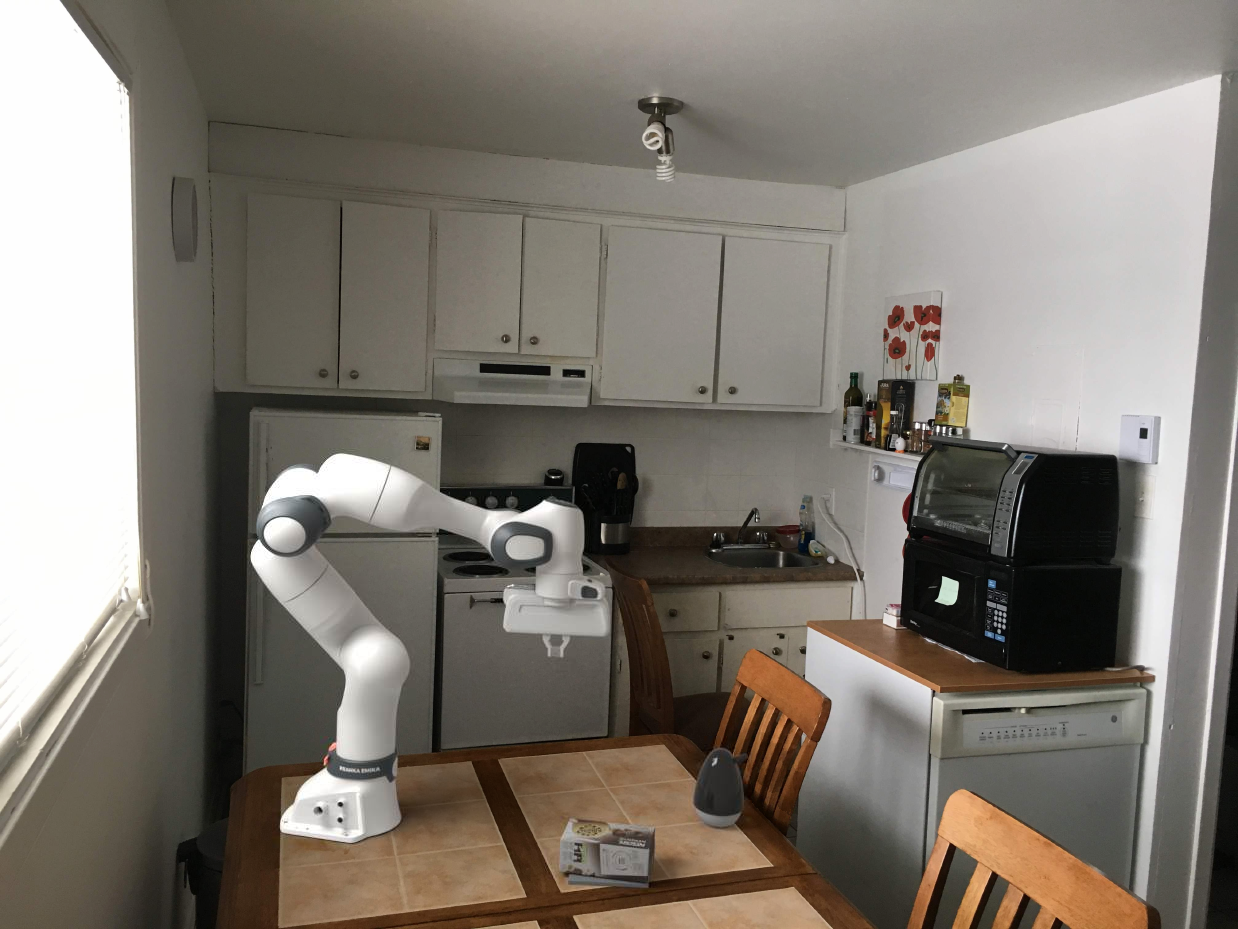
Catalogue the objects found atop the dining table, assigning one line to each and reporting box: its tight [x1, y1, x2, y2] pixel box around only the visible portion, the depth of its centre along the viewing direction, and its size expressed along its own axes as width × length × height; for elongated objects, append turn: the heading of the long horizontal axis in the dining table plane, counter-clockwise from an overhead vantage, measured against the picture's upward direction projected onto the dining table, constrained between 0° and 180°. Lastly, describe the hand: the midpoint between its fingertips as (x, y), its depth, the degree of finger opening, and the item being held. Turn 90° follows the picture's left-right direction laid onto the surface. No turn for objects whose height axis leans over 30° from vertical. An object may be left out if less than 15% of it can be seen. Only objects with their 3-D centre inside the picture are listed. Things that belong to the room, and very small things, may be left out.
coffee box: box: [558, 818, 656, 884], centre depth 172 cm, size 9×6×16 cm
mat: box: [567, 873, 650, 889], centre depth 174 cm, size 14×14×1 cm
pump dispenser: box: [692, 747, 749, 828], centre depth 193 cm, size 10×10×15 cm
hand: (555, 656), depth 182 cm, fingers closed
